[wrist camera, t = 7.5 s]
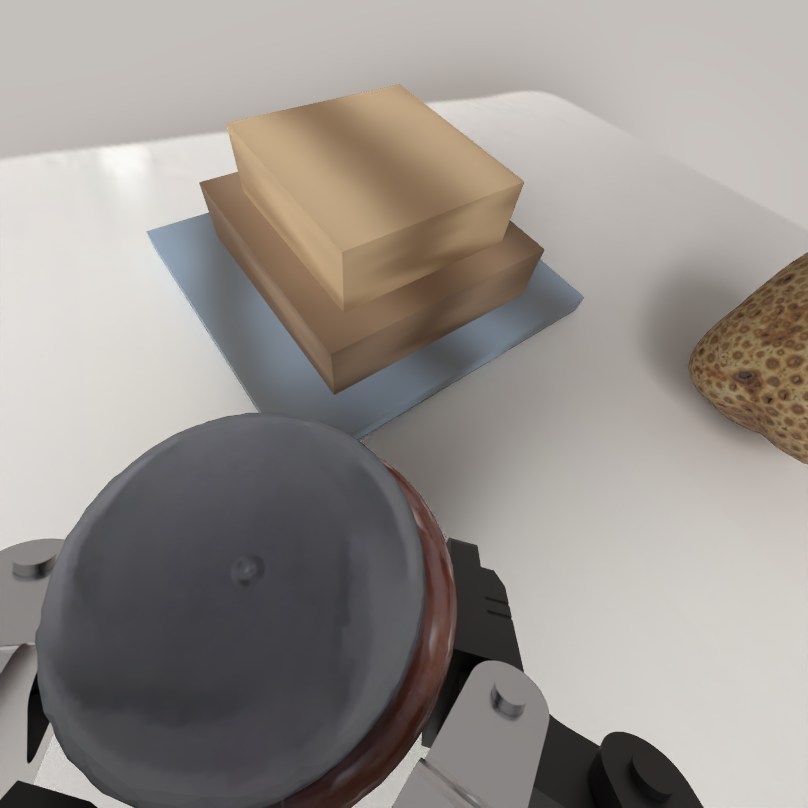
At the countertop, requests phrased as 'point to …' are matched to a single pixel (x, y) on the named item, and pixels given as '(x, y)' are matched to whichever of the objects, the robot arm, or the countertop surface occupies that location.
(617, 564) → the countertop surface
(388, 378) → the block tower
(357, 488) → the supplement bottle
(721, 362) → the natural sponge
